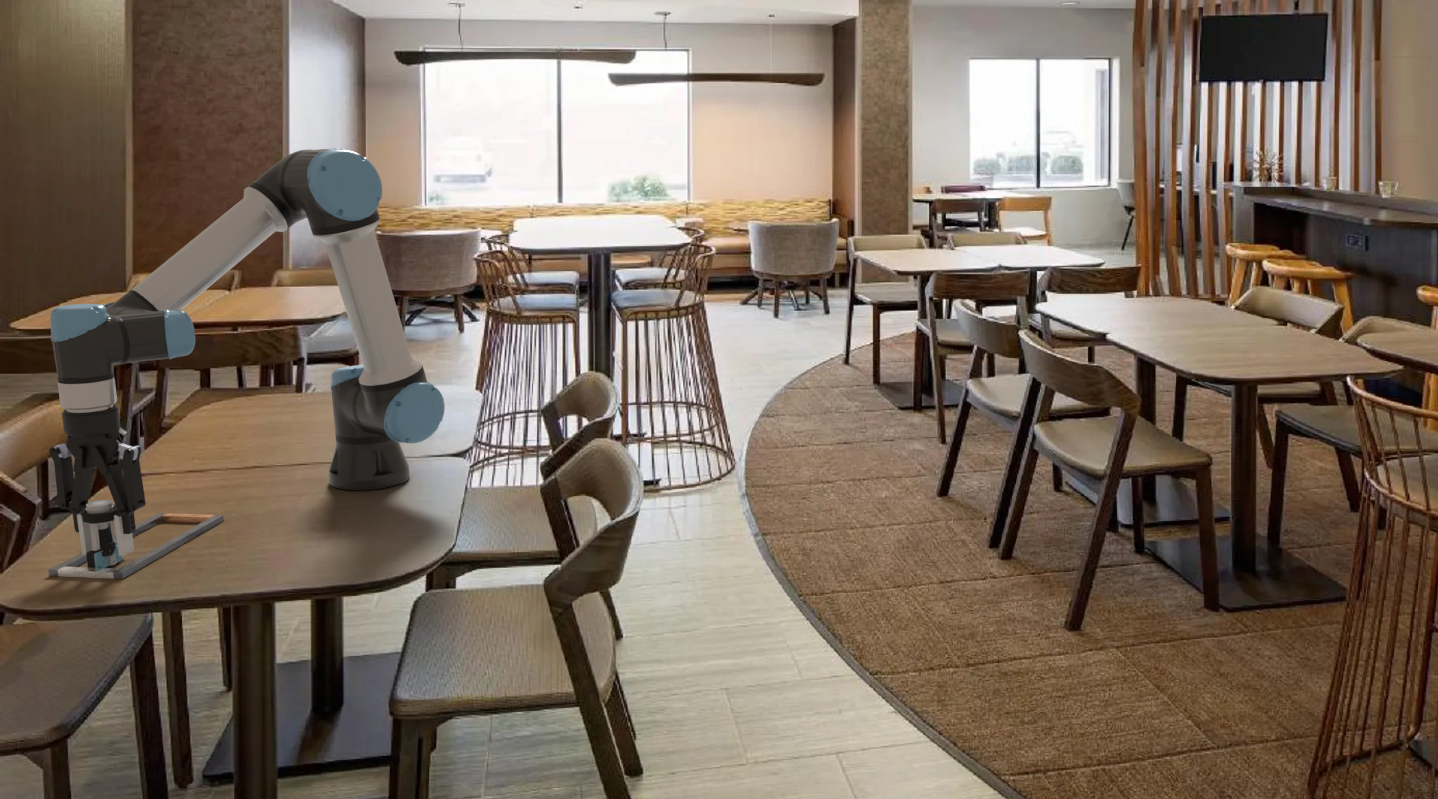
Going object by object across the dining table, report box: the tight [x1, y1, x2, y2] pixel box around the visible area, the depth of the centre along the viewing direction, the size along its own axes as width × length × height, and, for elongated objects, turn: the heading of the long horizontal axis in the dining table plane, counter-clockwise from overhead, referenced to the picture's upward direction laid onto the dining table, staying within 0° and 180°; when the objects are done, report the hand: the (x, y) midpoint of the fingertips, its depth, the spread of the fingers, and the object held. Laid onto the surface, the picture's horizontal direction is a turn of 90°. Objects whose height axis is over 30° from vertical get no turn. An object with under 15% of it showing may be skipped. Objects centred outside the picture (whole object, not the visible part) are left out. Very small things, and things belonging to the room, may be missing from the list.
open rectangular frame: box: [47, 512, 225, 580], centre depth 182 cm, size 12×28×1 cm, turn 174°
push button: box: [80, 499, 124, 568], centre depth 173 cm, size 7×5×10 cm
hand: (108, 552), depth 174 cm, fingers open, 5 cm apart
